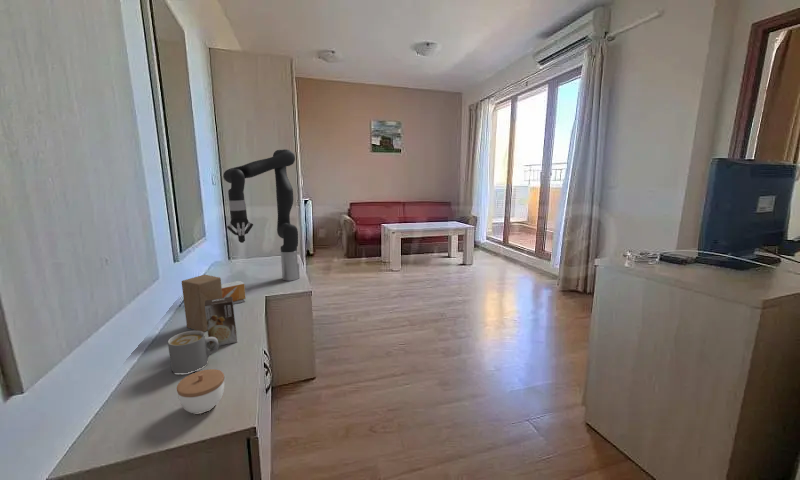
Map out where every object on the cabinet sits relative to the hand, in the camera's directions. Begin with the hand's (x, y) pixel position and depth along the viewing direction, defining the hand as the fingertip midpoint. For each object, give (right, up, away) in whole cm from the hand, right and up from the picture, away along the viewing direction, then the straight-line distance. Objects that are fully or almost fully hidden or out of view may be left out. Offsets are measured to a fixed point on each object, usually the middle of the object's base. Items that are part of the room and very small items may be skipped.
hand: (242, 242), depth 170 cm
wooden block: (+2, -34, -35) cm, 49 cm away
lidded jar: (+29, -44, -82) cm, 98 cm away
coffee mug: (+16, -40, -63) cm, 76 cm away
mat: (-5, -29, -9) cm, 31 cm away
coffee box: (+16, -37, -48) cm, 62 cm away
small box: (+3, -24, -5) cm, 24 cm away
